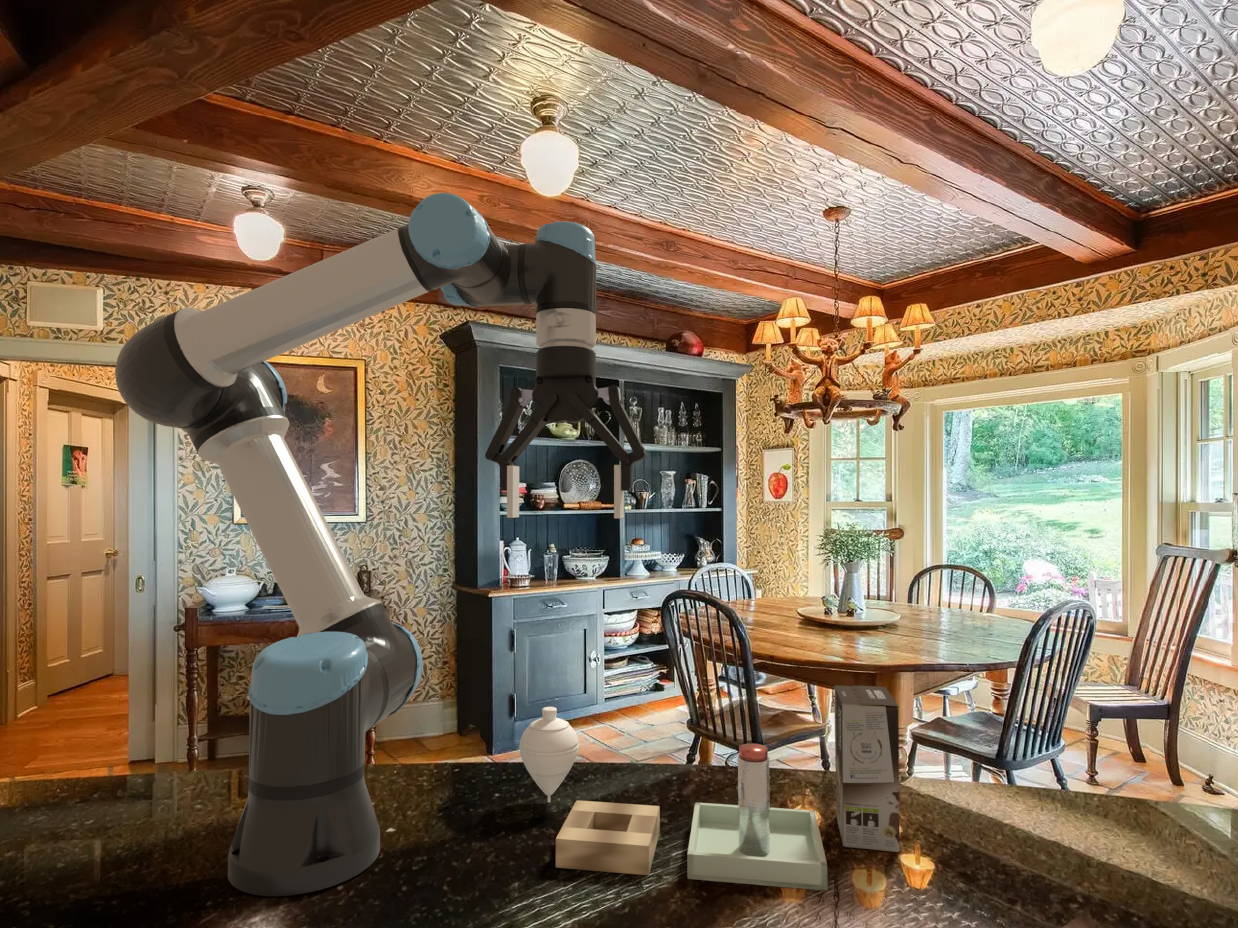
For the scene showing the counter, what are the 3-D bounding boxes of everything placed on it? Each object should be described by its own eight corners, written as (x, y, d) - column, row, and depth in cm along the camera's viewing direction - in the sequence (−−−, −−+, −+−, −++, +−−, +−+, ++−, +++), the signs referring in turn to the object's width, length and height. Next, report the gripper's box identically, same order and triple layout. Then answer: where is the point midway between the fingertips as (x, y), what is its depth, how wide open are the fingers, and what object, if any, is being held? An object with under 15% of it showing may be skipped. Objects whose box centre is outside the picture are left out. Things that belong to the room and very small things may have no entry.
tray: (687, 878, 76) (687, 853, 76) (695, 823, 89) (695, 802, 89) (827, 890, 74) (827, 865, 74) (814, 832, 87) (814, 810, 87)
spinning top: (533, 820, 90) (534, 720, 90) (509, 797, 96) (510, 704, 97) (589, 806, 94) (589, 711, 94) (562, 786, 100) (563, 696, 101)
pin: (738, 855, 80) (737, 752, 80) (738, 840, 83) (738, 742, 84) (770, 857, 79) (769, 754, 80) (769, 843, 83) (768, 743, 83)
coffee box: (902, 853, 81) (900, 705, 82) (841, 847, 83) (840, 702, 83) (889, 818, 90) (887, 685, 91) (834, 813, 92) (833, 682, 92)
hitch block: (555, 867, 78) (555, 838, 78) (576, 825, 88) (576, 800, 88) (649, 875, 77) (649, 845, 77) (659, 831, 87) (659, 805, 87)
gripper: (460, 346, 91) (459, 517, 90) (661, 339, 87) (661, 519, 86) (481, 357, 99) (480, 516, 98) (667, 351, 95) (667, 517, 94)
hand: (565, 518), depth 92 cm, fingers open, 13 cm apart
